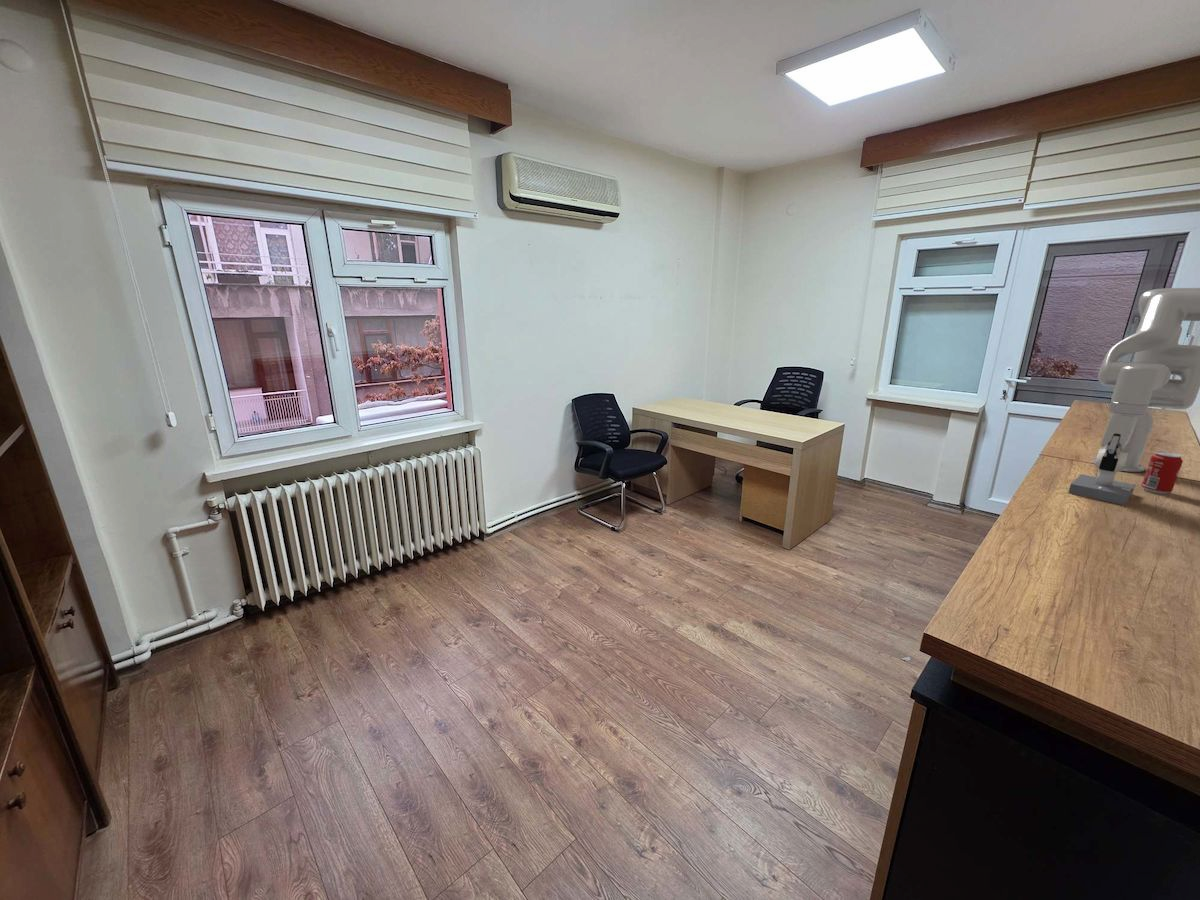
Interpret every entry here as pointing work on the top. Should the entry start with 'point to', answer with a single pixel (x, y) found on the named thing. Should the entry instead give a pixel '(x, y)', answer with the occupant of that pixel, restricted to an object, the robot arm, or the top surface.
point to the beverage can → (1162, 472)
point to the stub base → (1102, 487)
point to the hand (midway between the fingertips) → (1108, 467)
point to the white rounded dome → (1121, 457)
